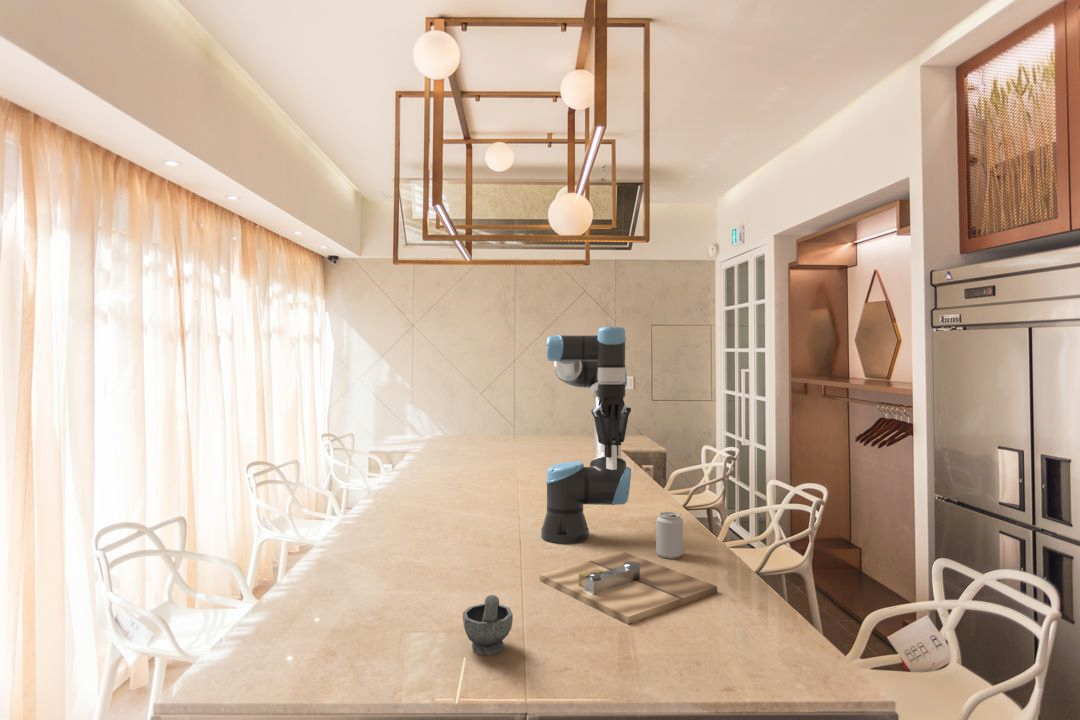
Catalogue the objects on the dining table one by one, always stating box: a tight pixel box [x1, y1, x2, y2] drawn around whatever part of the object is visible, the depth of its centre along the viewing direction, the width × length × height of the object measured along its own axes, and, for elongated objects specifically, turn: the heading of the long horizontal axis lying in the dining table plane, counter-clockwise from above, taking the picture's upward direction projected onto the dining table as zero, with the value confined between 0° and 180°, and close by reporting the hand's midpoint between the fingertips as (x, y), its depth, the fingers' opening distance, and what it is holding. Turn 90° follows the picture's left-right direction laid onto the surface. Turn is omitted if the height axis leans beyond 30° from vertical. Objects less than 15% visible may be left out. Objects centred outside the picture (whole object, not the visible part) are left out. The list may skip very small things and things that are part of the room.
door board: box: [539, 551, 718, 625], centre depth 154 cm, size 32×30×5 cm
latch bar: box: [585, 561, 640, 594], centre depth 151 cm, size 17×4×4 cm, turn 130°
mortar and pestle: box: [462, 594, 514, 656], centre depth 121 cm, size 11×9×12 cm
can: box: [655, 511, 684, 560], centre depth 178 cm, size 8×8×12 cm
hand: (611, 468), depth 170 cm, fingers closed
